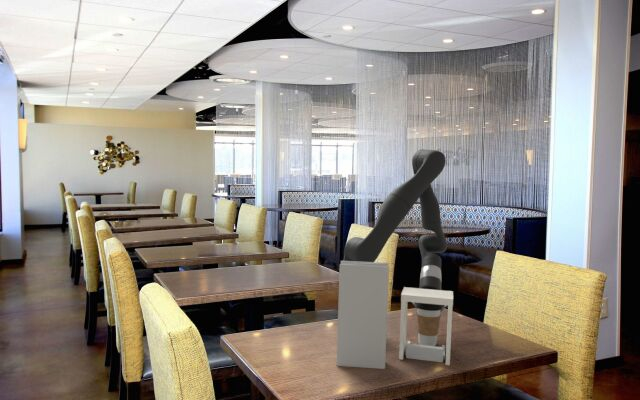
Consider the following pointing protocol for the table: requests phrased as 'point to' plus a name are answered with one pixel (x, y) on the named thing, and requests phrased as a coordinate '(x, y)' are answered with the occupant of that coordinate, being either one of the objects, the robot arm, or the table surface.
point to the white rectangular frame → (410, 349)
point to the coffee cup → (428, 323)
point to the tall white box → (362, 314)
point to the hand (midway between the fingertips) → (428, 324)
